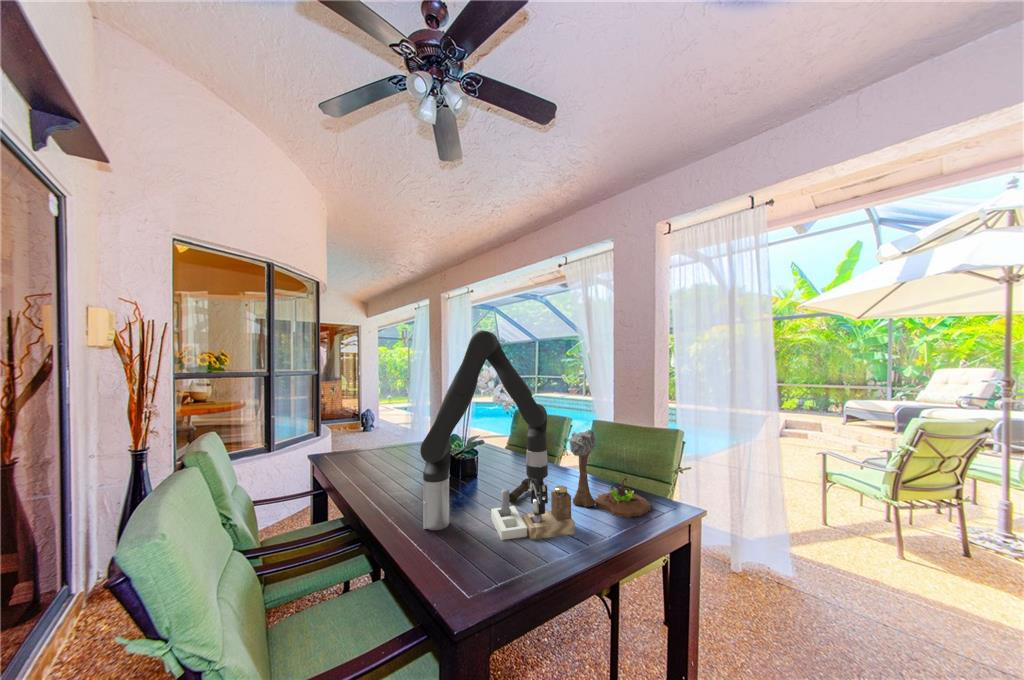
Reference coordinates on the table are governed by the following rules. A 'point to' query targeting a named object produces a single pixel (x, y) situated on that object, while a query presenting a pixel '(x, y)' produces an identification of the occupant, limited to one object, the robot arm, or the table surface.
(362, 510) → the table surface
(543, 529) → the socket block
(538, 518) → the grey rectangular bar
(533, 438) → the robot arm
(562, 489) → the gold topped knob
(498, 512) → the rack
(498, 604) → the table surface
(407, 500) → the table surface
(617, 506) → the plant
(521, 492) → the hand tool
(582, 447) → the tree sculpture
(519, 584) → the table surface
